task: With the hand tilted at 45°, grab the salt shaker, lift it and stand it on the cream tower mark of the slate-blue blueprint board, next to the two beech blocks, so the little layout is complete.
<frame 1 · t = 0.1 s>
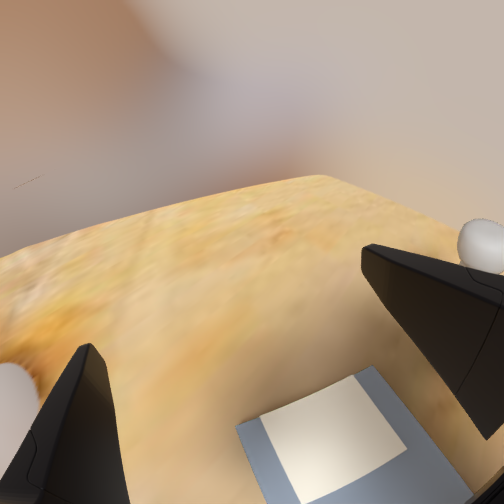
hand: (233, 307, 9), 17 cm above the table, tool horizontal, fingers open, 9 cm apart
salt shaker: (448, 357, 23), on the table
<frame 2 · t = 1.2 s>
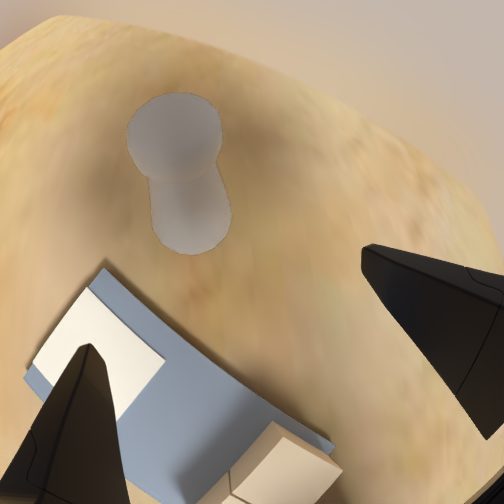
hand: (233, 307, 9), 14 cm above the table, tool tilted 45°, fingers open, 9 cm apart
salt shaker: (193, 227, 24), on the table
blueprint board: (168, 424, 20), on the table
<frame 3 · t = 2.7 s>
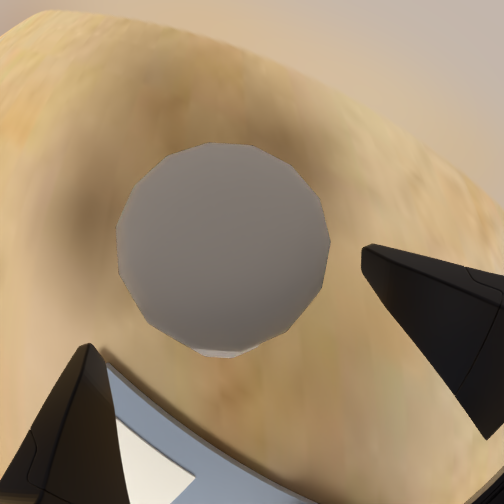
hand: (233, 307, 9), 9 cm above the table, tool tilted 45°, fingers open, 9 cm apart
salt shaker: (221, 305, 18), on the table
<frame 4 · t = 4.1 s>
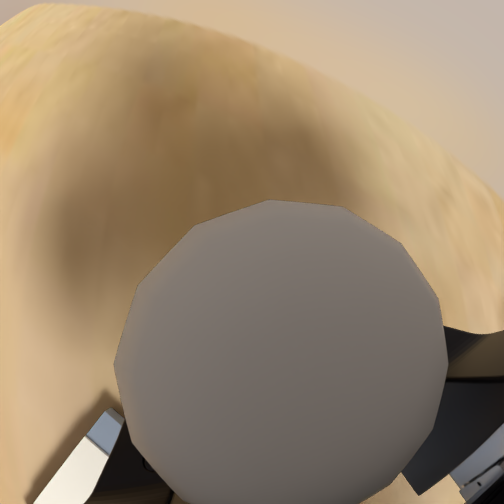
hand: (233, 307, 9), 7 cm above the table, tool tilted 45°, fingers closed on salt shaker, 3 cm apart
salt shaker: (237, 344, 15), on the table, touching gripper
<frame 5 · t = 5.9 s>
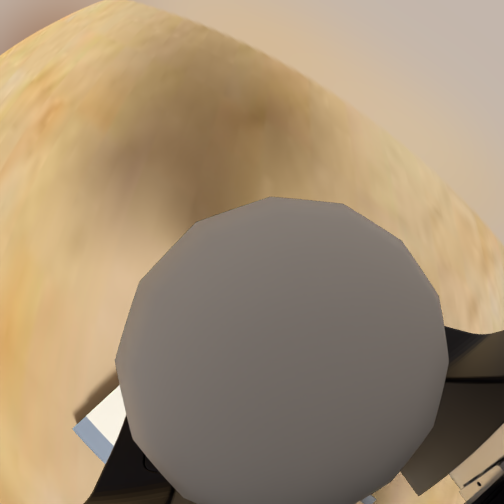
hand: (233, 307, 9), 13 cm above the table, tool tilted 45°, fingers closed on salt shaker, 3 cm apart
salt shaker: (237, 343, 15), point 6 cm above the table, touching gripper
blueprint board: (231, 480, 19), on the table
when the fingers open (9 cm above the table, at t = 7.9 s): salt shaker drops 1 cm, resting on blueprint board.
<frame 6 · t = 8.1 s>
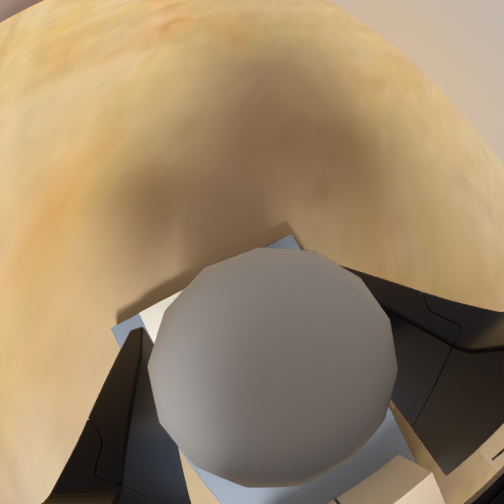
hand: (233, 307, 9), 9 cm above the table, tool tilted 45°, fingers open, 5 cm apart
salt shaker: (237, 347, 17), point 1 cm above the table, touching blueprint board
blueprint board: (292, 437, 16), on the table
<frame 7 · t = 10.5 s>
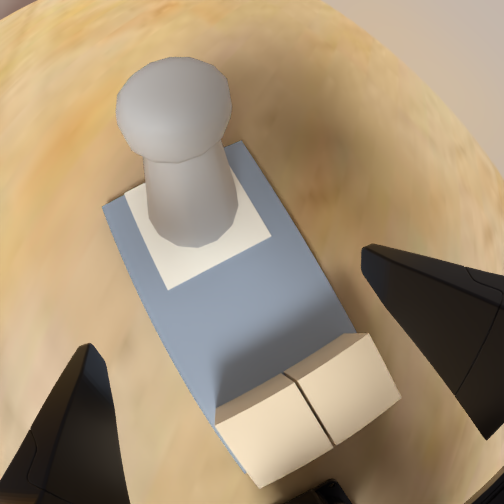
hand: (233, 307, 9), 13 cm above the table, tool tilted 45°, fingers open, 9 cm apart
salt shaker: (195, 216, 22), point 1 cm above the table, touching blueprint board
blueprint board: (240, 303, 22), on the table
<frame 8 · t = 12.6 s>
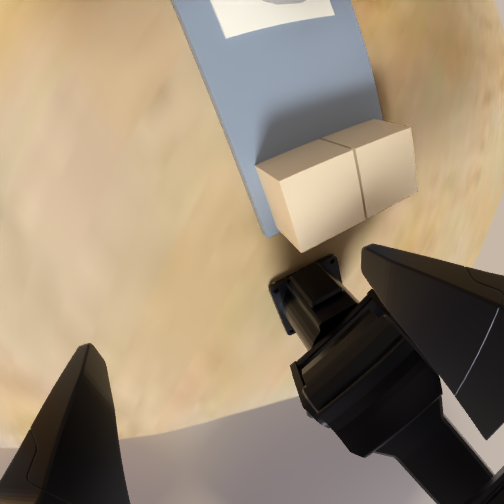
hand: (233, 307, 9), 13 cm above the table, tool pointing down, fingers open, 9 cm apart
blueprint board: (291, 65, 18), on the table
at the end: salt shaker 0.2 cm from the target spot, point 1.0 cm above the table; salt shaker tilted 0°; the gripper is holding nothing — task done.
